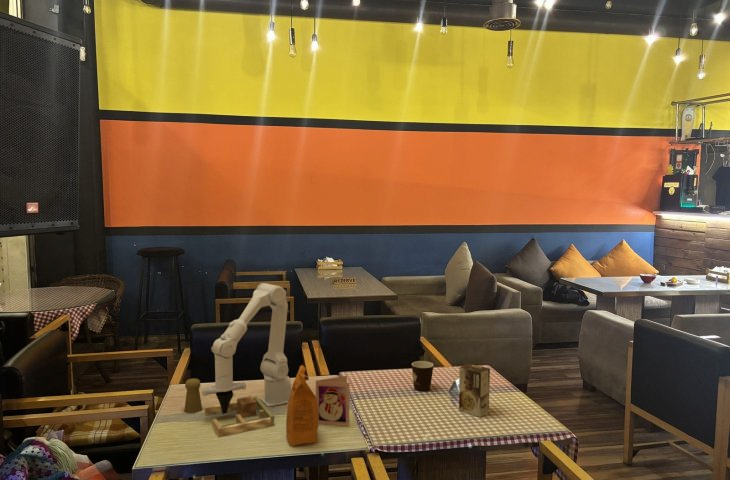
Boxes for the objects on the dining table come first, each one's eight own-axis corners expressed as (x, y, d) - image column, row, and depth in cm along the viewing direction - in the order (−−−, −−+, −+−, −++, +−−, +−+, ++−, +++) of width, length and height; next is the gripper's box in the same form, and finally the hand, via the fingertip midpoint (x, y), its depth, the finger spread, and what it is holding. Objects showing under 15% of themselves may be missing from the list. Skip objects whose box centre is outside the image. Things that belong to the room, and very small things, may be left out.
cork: (196, 414, 186) (196, 383, 185) (180, 412, 187) (180, 381, 186) (205, 407, 192) (204, 377, 191) (189, 405, 193) (189, 376, 192)
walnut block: (251, 409, 191) (251, 396, 190) (256, 415, 185) (256, 401, 185) (237, 412, 188) (237, 398, 188) (242, 418, 183) (242, 404, 182)
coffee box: (489, 412, 190) (491, 368, 189) (480, 418, 185) (481, 372, 184) (467, 405, 196) (468, 362, 195) (457, 410, 192) (459, 366, 190)
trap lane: (256, 404, 195) (256, 396, 194) (274, 425, 178) (274, 416, 177) (204, 414, 186) (204, 405, 186) (218, 436, 169) (218, 427, 168)
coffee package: (316, 428, 176) (316, 363, 174) (319, 446, 164) (319, 376, 162) (286, 430, 174) (285, 364, 172) (286, 448, 162) (286, 377, 160)
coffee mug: (434, 393, 208) (434, 368, 207) (412, 392, 208) (412, 367, 207) (430, 382, 220) (431, 358, 219) (409, 382, 220) (410, 358, 219)
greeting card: (314, 425, 178) (315, 381, 177) (319, 416, 185) (320, 374, 184) (348, 427, 176) (349, 383, 175) (352, 418, 184) (352, 376, 182)
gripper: (241, 367, 189) (242, 404, 190) (199, 373, 182) (200, 412, 183) (247, 373, 182) (247, 411, 184) (204, 379, 175) (204, 419, 177)
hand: (224, 412), depth 183 cm, fingers closed
